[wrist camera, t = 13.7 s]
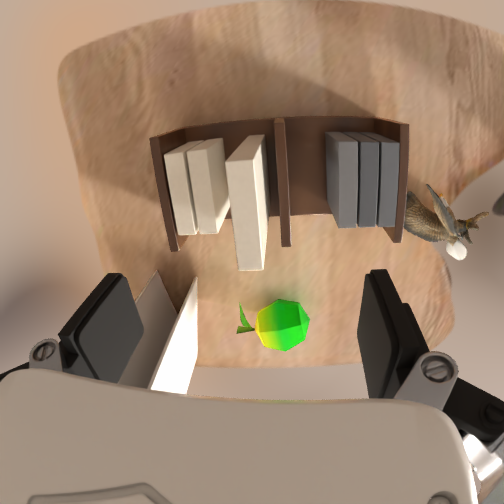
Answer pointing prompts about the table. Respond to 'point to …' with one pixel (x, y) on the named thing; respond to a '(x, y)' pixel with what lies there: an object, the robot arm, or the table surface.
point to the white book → (249, 201)
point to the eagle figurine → (439, 223)
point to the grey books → (362, 178)
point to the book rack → (284, 163)
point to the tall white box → (164, 340)
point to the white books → (198, 186)
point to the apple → (279, 324)
